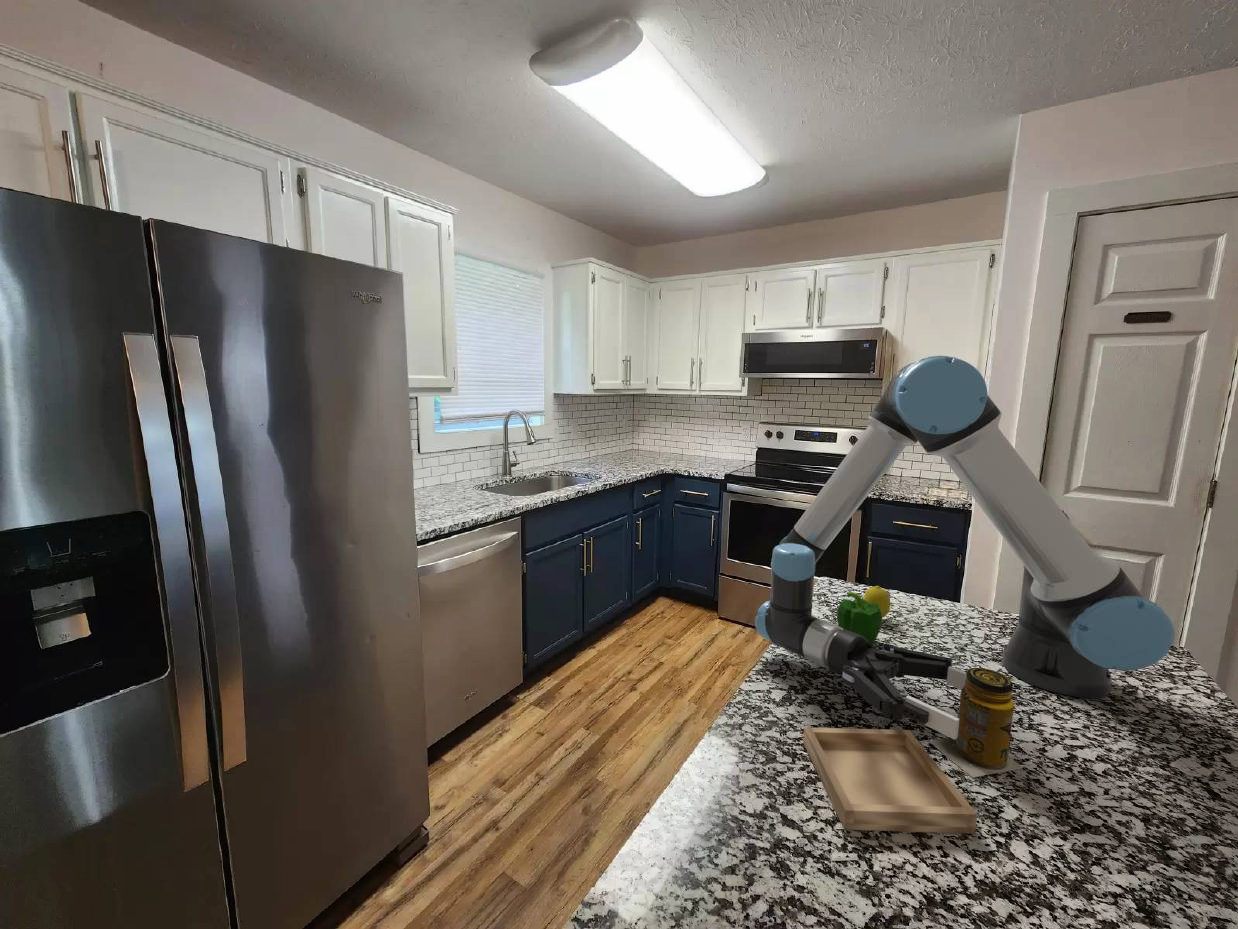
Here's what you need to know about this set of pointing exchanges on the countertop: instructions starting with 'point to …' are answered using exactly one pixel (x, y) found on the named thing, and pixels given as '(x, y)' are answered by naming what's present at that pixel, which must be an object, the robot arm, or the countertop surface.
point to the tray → (886, 782)
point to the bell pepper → (860, 617)
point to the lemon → (878, 599)
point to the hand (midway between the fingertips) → (978, 711)
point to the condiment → (982, 725)
